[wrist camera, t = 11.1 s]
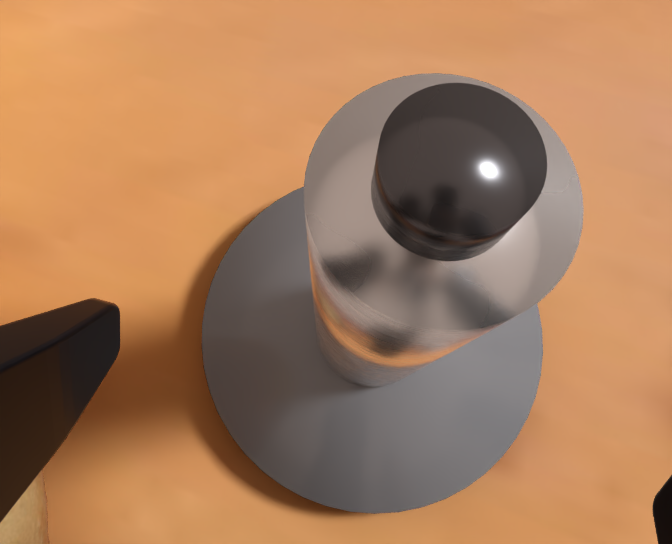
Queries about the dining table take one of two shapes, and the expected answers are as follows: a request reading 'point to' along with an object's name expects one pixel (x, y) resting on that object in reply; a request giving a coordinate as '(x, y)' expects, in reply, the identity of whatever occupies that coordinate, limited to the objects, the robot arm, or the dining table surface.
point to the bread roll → (27, 517)
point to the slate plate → (352, 386)
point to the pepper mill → (432, 221)
